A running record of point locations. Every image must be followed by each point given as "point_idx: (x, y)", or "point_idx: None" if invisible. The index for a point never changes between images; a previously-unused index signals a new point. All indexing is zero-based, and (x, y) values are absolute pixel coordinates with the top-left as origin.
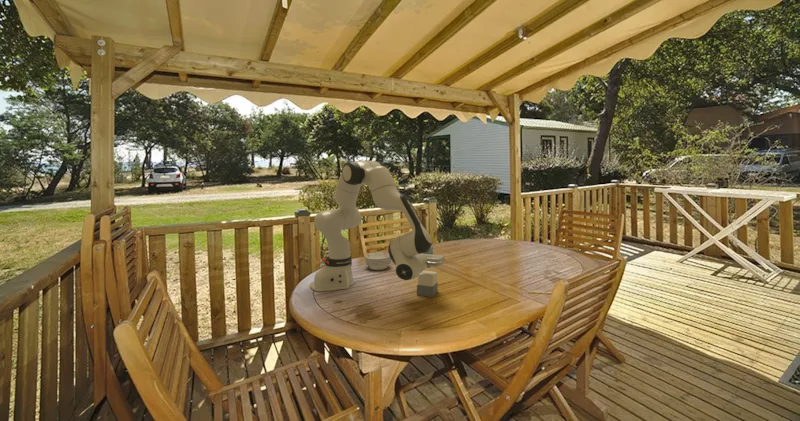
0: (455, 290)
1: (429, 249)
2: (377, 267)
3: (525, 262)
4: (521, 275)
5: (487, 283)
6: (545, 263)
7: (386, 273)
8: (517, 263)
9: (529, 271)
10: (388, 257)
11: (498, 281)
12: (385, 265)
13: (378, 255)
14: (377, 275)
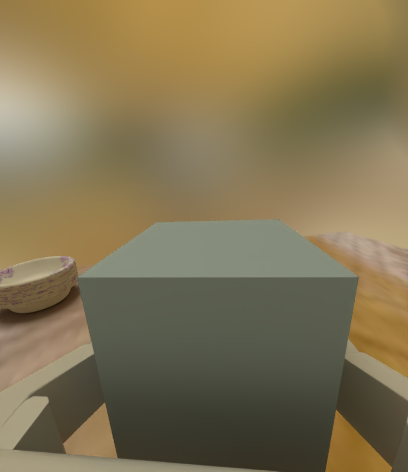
0: (345, 430)
1: (347, 301)
2: (26, 307)
3: (329, 238)
4: (382, 270)
5: (372, 323)
6: (358, 236)
7: (51, 326)
8: (321, 242)
9: (372, 256)
10: (61, 272)
11: (381, 305)
12: (52, 297)
13: (45, 265)
14: (7, 348)
